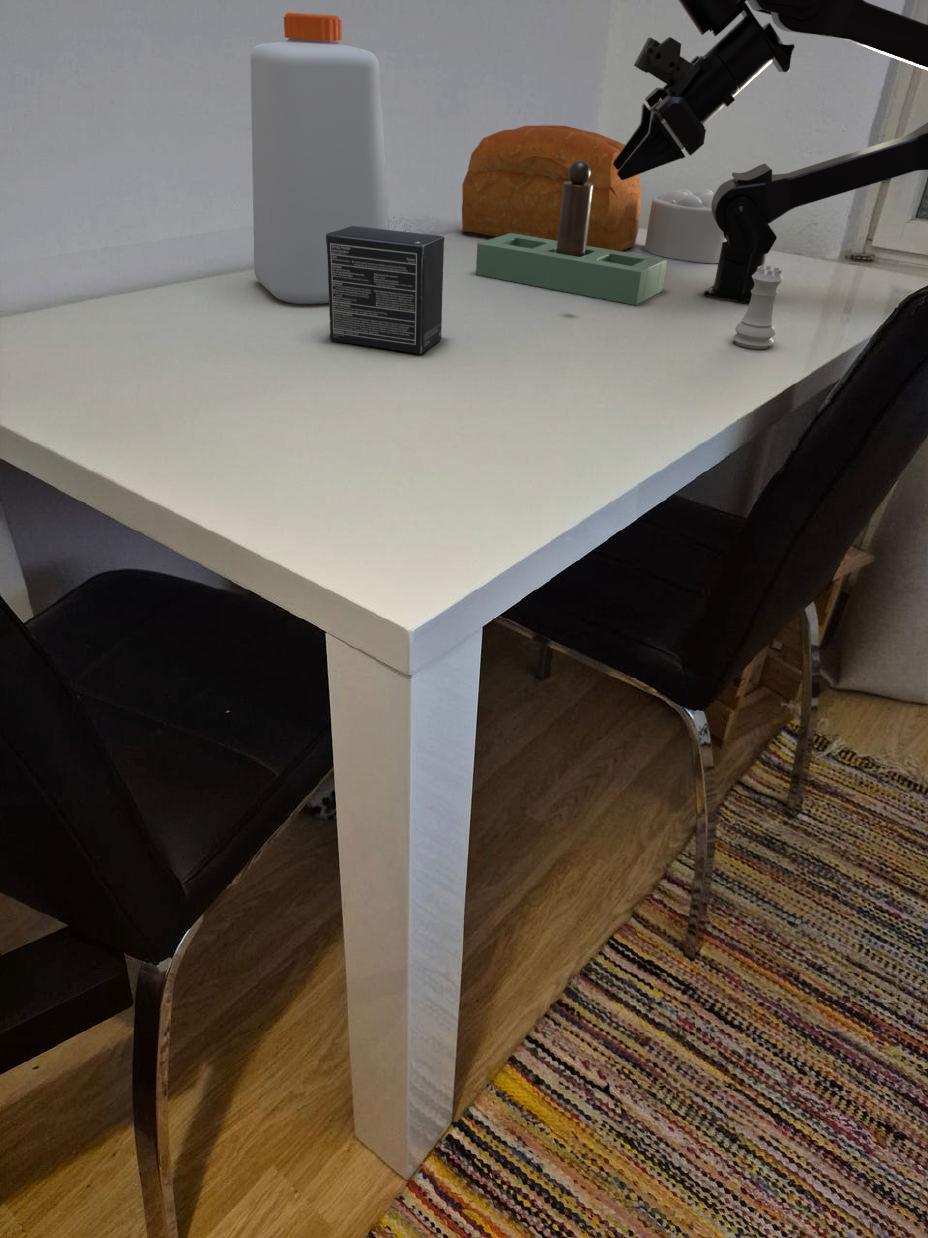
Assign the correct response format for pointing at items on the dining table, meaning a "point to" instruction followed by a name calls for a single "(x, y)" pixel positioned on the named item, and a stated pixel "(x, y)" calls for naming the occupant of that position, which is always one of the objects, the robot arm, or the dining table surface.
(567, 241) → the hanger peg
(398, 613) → the dining table surface
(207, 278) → the dining table surface
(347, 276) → the small box
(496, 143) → the bread
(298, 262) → the plastic bottle
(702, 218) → the lumpy-topped squat cylinder
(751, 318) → the rook chess piece
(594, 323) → the dining table surface
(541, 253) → the green three-slot holder
